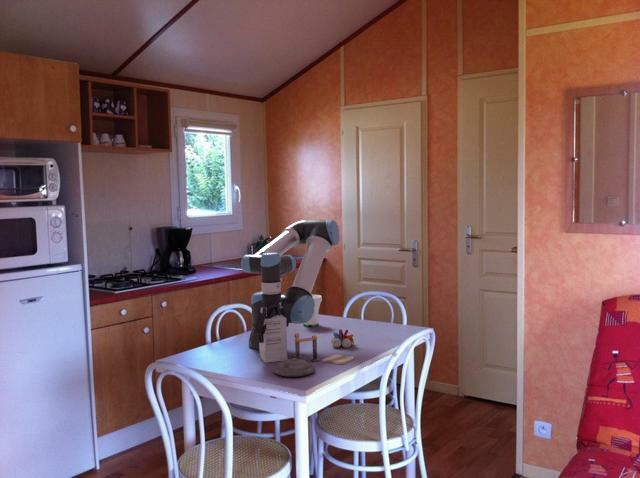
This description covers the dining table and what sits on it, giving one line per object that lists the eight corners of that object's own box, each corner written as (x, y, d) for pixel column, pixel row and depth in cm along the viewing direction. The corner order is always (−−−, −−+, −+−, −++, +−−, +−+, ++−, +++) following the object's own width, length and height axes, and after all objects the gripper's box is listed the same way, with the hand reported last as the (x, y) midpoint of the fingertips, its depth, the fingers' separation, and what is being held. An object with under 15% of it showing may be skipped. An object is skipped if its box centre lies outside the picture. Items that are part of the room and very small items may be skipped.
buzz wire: (282, 362, 234) (281, 336, 233) (296, 356, 242) (295, 331, 241) (308, 366, 228) (307, 340, 227) (321, 359, 236) (320, 334, 235)
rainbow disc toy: (352, 349, 251) (352, 331, 251) (329, 348, 253) (329, 331, 253) (355, 344, 260) (355, 327, 259) (333, 343, 262) (332, 326, 261)
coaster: (322, 361, 233) (322, 359, 233) (333, 356, 241) (333, 354, 241) (342, 364, 229) (342, 362, 229) (354, 358, 236) (354, 356, 236)
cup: (326, 324, 299) (326, 295, 298) (314, 328, 290) (313, 299, 289) (307, 321, 305) (306, 293, 304) (295, 326, 296) (294, 297, 295)
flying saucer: (288, 382, 210) (288, 366, 209) (265, 372, 222) (265, 357, 222) (323, 374, 219) (323, 359, 218) (300, 365, 231) (299, 350, 230)
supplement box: (259, 356, 242) (257, 314, 241) (281, 354, 245) (280, 313, 244) (264, 363, 233) (263, 319, 232) (288, 360, 236) (286, 317, 235)
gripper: (260, 298, 225) (262, 355, 226) (297, 288, 246) (298, 340, 248) (244, 297, 229) (245, 353, 230) (281, 287, 250) (283, 338, 251)
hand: (273, 346), depth 239 cm, fingers closed on supplement box, 13 cm apart
